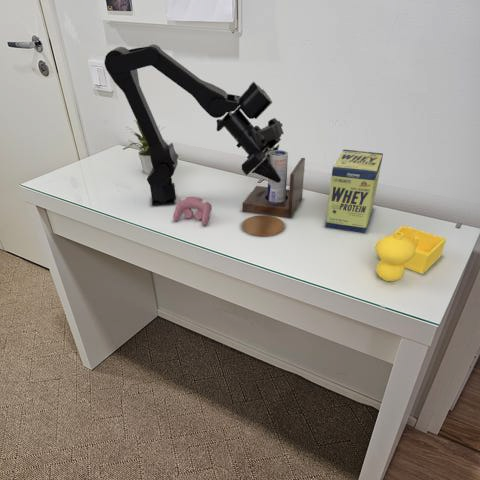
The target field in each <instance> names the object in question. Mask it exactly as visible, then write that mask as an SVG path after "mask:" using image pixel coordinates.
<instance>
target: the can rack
mask: <svg viewBox="0 0 480 480" xmlns="http://www.w3.org/2000/svg"><path fill="white" fill-rule="evenodd" d="M301 196H302V197H303V194H302V195H301ZM299 198H301V197H299ZM299 198H298V200H297V202H296V205H295V207H296V208H294V207H293V208H294V209H295V210H294V211H295V212H292V210H291V212H289V213H291V218H289V217H288V211H289V209H288V206H289V189H287V188H286V201H284V202H270V201H268V186H260V185H256V186H255V187H254V188H253V190H252V191H251V192H250V193H249V194H248V196H247V197H246V198H245V199H244V201H243V202H242V212H243V213H250V214H256V215H257V214H258V215H267V216H273V217H278V218H279V217H280V218H287V219H292V218H293V216H294V214H295V213H296V211H297V210H298V208H299V205H300V204H301V202H302V200H300V199H299ZM299 200H300V201H301V202H299V203H298V201H299ZM293 213H294V214H293ZM292 214H293V215H292Z"/></svg>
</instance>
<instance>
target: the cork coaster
mask: <svg viewBox="0 0 480 480" xmlns="http://www.w3.org/2000/svg"><path fill="white" fill-rule="evenodd" d="M241 226H242V227H241V228H242V230H243V231H244V232H245V233H246V234H249V235H250V236H255V237H271V236H275V235H279V234H280V233H282V232H283V231H284V229H285V223H284V221H283V220H282V219H281V218H279V217H277V216H271V215H264V214H258V215H254V216H249V217H248V218H245V220H244V221H242V223H241Z"/></svg>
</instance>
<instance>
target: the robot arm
mask: <svg viewBox="0 0 480 480" xmlns="http://www.w3.org/2000/svg"><path fill="white" fill-rule="evenodd" d="M104 57H105V58H104V63H103V64H104V67H105V70H106V72H107V73H108V75H109V76H110V77H111V79H112V81H113V82H114V83H115V85H116V86H117V87H118V88H119V89H120V91H122V93H123V94H124V96H125V98H126V101H127V103H128V105H129V107H130V109H131V111H132V114H133V116H134V118H135V121H137V122H138V124H139V127H140V129H141V131H142V133H143V135H144V138H145V140H146V142H147V144H148V146H149V151H150V158H151V162H152V166H153V168H152V170H151V172H150V174H148V177H147V178H146V181H147V183H148V185H149V189H150V193H151V194H150V196H151V206H152V207H153V206H169V205H175V203H176V202H175V201H176V199H177V196H176V185H175V183H174V182H173V179H172V177H173V176H174V174H175V171H176V169H177V166H178V163H179V161H178V158H179V155H178V154H177V152H176V149H175V146H174V144H173V142H171V143H169V144H168V143H167V142H166V141H165V140H164V138H163V136H162V134H161V130H160V128H158V127H159V126H158V124H157V122H156V119H155V117H154V115H153V113H152V110H151V108H150V106H149V104H148V101H147V98H146V97H145V94H144V92H143V90H142V87H141V84H140V79H139V72H138V69H141V68H142V69H143V68H146V67H153V68H154V69H156V70H157V71H158V72H160V73H161V74H162V75H164V76H165V77H167V79H169V80H170V81H172V82H173V83H175V84H176V85H177V86H179V87H180V88H182V89H183V90H184V91H185V92H187V93H188V94H190V96H192V97H193V98H194V99H195V101H196V102H197V104H198V105H199V106H200V107H201V108H202V109H203V110H204V111H205V112H206V113H207V114H208V115H209V116H210V117H212V118H214V119H216V132H220V131H222V130H223V129H224V128H225V130H227V132H228V133H229V134H230V135H231V136H232V137H233V139H234V141H236V143H237V144H236V147H237V148H238V149H240V148H241V149H243V150H244V151H245V153H246V154H247V156H246V160H245V161H243V163H242V164H241V171H242V172H243V173H244V174H245V176H248V175H249V174H250V173H252V174H256V175H259V176H261V177H263V178H265V179H268V178H269V179H271V180H273V181H275V182H278V183H279V182H280V181H281V179H280V177H279V175H278V174H277V172H276V171H275V169H274V168H273V166H272V165H271V163H270V155H269V152H270V151H274V150H280V149H279V148H280V144H279V143H280V142H281V140H282V139H281V137H282V136H283V135H284V130H283V123H282V122H281V121H280V120H278V119H276V117H274V118H271V119H269V120H268V121H267V125H266V126H265V127H262V128H260V126H259V125H255V126H254V125H253V124H252V122H251V121H250V120H254V119H255V120H257V119H258V118H259V117H260V116H261V115H262V114H263V113H264V112H265V111H266V110H267V109H268V108H269V107H270V106H271V105H272V104H273V100H272V99H271V97H270V96H269V95H268V93H267V91H265V90H264V89H262V88H261V86H260V85H258V84H257V83H256V82H255V81H252V82H251V83H250V84H249V86H248V88H247V89H246V90H245V91H244V92H243V93H242V94H241V95H236V94H232V93H228V92H227V91H225V90H224V89H223V88H221V87H218V85H215V84H213V83H210V82H208V81H205V80H202V79H201V78H199V77H198V76H197V75H195V74H194V73H193V72H191V71H190V70H189V69H188V68H186V67H185V66H184V65H182V64H181V63H180V62H178V61H177V60H176V59H174V58H173V57H172V56H170V55H169V54H168V53H167V52H165V51H164V50H163V49H162V48H161V47H160V46H159V45H157V44H154V43H152V44H149V45H147V46H141V47H135V48H131V49H128V48H127V47H124V46H117V47H115V48H114V49H112V50H110V51H109V52H107V54H106V55H105V56H104ZM222 117H223V118H222ZM249 119H250V120H249Z"/></svg>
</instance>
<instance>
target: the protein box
mask: <svg viewBox="0 0 480 480" xmlns="http://www.w3.org/2000/svg"><path fill="white" fill-rule="evenodd" d="M383 156H384V153H381V152H373V151H363V150H355V149H353V150H352V149H342V151H341V153H340V154H339V157H338V158H337V160H336V162H335V163H334V165H333V166H332V169H331V178H330V184H329V185H330V186H329V195H328V203H327V211H326V212H327V213H326V220H325V228H330V229H337V230H344V231H350V232H358V233H363V234H365V233H366V231H367V228H368V225H369V222H370V219H371V216H372V212H373V208H374V203H375V198H376V192H377V188H378V182H379V177H380V172H381V167H382V161H383Z"/></svg>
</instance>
